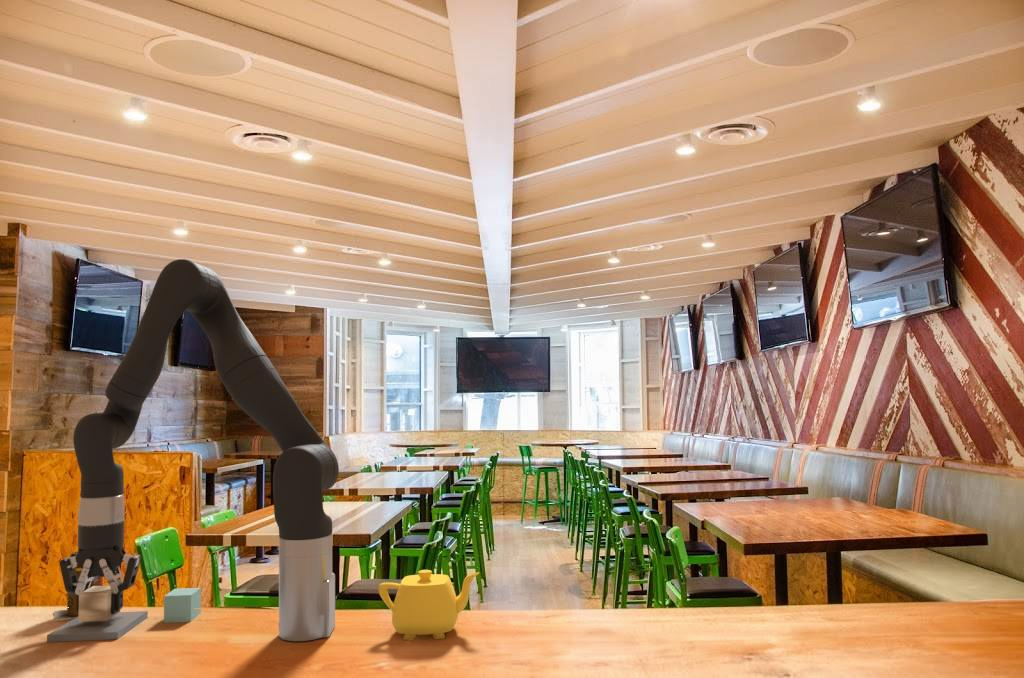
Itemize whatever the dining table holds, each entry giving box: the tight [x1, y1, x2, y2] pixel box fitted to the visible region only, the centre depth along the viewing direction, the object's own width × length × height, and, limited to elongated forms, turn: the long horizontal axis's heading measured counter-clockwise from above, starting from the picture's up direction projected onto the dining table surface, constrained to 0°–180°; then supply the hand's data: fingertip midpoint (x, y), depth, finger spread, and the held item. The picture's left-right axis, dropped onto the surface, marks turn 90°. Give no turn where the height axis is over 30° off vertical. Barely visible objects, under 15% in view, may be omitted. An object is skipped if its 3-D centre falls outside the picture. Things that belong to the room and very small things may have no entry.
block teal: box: [163, 587, 202, 624], centre depth 139 cm, size 5×5×5 cm
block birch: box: [78, 585, 121, 622], centre depth 133 cm, size 5×5×5 cm
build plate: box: [46, 610, 149, 643], centre depth 133 cm, size 12×12×1 cm
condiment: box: [53, 550, 104, 623], centre depth 143 cm, size 7×8×12 cm
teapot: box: [377, 569, 480, 641], centre depth 128 cm, size 18×11×11 cm, turn 92°
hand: (99, 613), depth 133 cm, fingers closed on block birch, 5 cm apart
